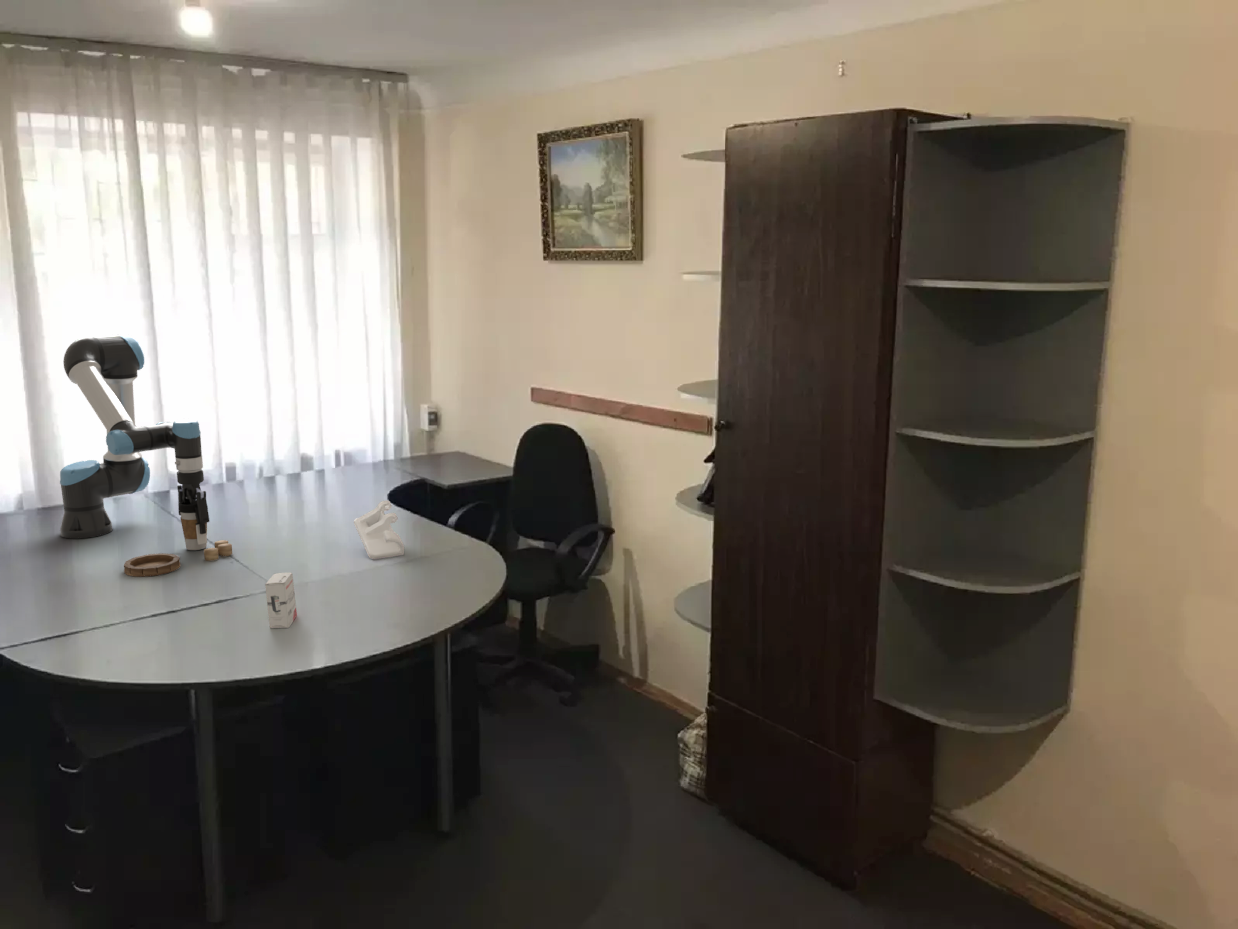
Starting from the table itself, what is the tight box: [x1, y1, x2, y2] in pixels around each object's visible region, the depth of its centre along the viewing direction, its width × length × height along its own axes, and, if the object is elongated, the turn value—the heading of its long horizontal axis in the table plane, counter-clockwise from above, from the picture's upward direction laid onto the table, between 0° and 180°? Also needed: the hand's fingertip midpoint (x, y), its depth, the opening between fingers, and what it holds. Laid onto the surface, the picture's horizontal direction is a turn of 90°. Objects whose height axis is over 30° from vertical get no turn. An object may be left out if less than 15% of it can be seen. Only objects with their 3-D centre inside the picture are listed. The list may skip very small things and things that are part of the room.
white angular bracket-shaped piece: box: [353, 500, 405, 560], centre depth 302 cm, size 20×11×13 cm, turn 32°
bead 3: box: [218, 543, 233, 557], centre depth 297 cm, size 4×4×3 cm
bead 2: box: [214, 539, 229, 548], centre depth 300 cm, size 4×4×3 cm
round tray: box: [123, 552, 182, 578], centre depth 283 cm, size 15×15×2 cm
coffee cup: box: [178, 502, 209, 551], centre depth 301 cm, size 8×8×15 cm
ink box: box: [264, 572, 298, 629], centre depth 242 cm, size 9×5×12 cm, turn 5°
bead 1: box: [203, 547, 220, 562], centre depth 293 cm, size 4×4×3 cm
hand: (195, 540), depth 302 cm, fingers closed on coffee cup, 8 cm apart
